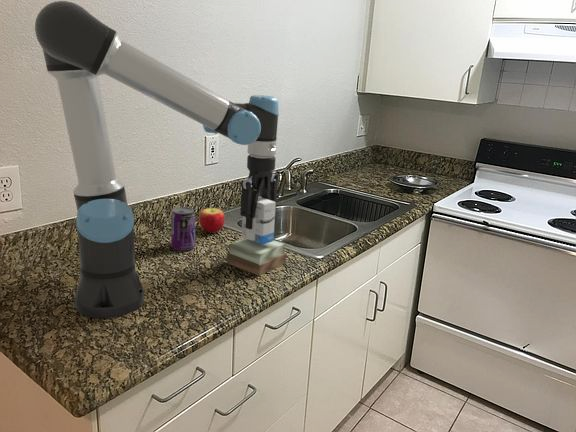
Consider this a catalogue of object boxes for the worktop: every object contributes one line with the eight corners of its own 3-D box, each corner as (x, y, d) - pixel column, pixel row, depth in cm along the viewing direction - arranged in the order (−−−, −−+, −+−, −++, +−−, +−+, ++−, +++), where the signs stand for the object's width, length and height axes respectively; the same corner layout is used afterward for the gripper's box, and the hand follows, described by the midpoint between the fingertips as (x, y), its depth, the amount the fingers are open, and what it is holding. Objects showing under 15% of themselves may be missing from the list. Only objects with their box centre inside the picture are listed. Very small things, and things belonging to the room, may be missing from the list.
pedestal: (259, 275, 131) (260, 255, 129) (226, 263, 138) (227, 243, 136) (285, 262, 140) (286, 243, 139) (254, 251, 147) (254, 232, 145)
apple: (220, 226, 166) (221, 198, 163) (227, 235, 159) (227, 206, 156) (196, 228, 163) (196, 199, 160) (202, 236, 156) (202, 207, 152)
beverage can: (189, 253, 142) (189, 215, 139) (167, 250, 144) (166, 212, 140) (198, 245, 149) (199, 208, 145) (177, 242, 150) (176, 205, 146)
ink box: (274, 241, 136) (276, 201, 132) (261, 245, 132) (263, 204, 129) (253, 232, 141) (255, 194, 137) (240, 236, 138) (242, 196, 134)
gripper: (249, 162, 120) (246, 248, 127) (293, 153, 134) (287, 232, 142) (227, 157, 124) (225, 241, 131) (271, 149, 138) (267, 225, 146)
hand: (257, 236), depth 136 cm, fingers closed on ink box, 5 cm apart
